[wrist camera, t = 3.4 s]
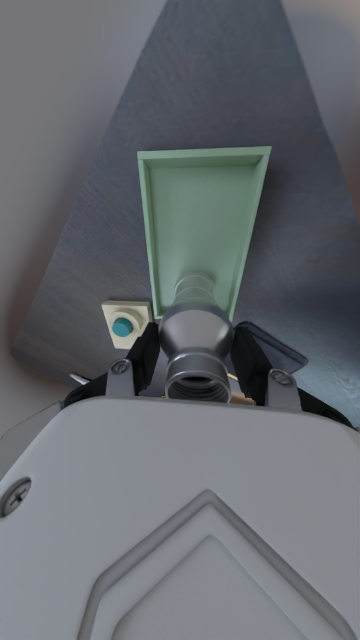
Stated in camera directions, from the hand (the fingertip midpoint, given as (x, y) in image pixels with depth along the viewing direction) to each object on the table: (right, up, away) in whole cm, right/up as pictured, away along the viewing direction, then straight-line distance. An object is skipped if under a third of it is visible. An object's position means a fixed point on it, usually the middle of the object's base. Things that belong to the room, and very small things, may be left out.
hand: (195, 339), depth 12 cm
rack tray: (+1, +12, +11) cm, 16 cm away
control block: (-12, +1, +19) cm, 22 cm away
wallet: (+16, -8, +22) cm, 28 cm away
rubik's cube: (-4, -24, +33) cm, 41 cm away
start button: (-12, +1, +15) cm, 19 cm away
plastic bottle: (+1, +8, +13) cm, 15 cm away
